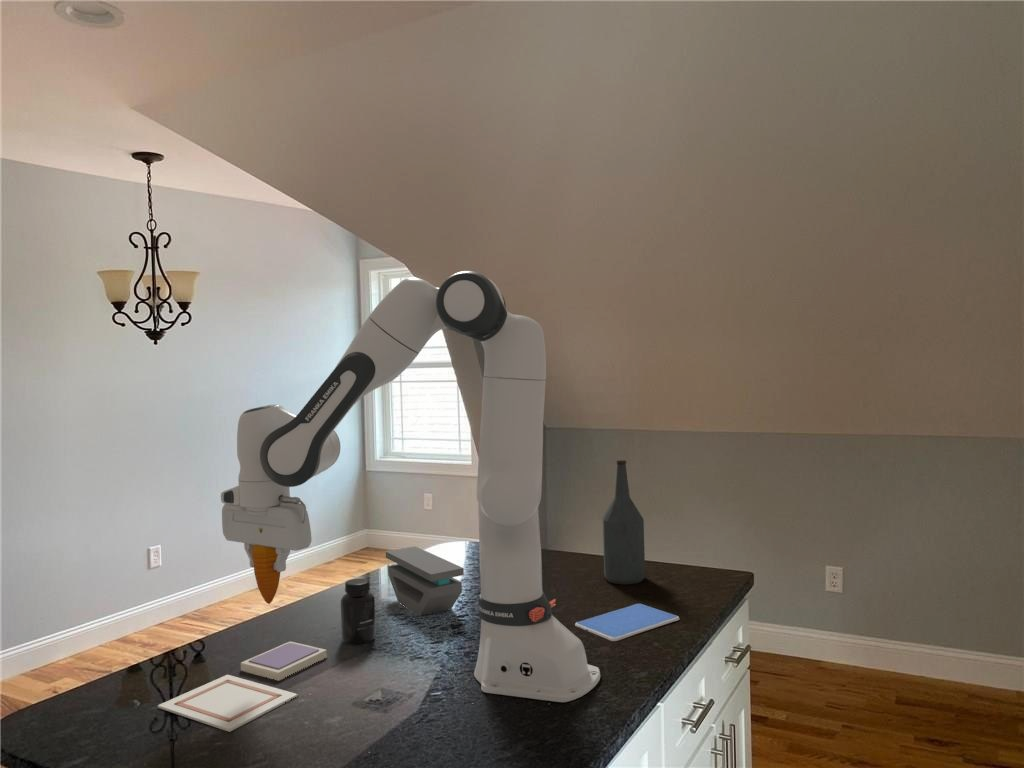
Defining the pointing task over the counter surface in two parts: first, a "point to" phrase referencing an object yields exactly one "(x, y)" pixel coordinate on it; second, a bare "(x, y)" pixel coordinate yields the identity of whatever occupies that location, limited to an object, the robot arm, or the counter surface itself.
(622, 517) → the bottle
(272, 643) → the counter surface
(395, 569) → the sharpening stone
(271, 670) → the ink pad
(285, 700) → the print card
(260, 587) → the carrot
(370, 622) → the supplement bottle
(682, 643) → the counter surface
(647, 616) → the tablet computer
